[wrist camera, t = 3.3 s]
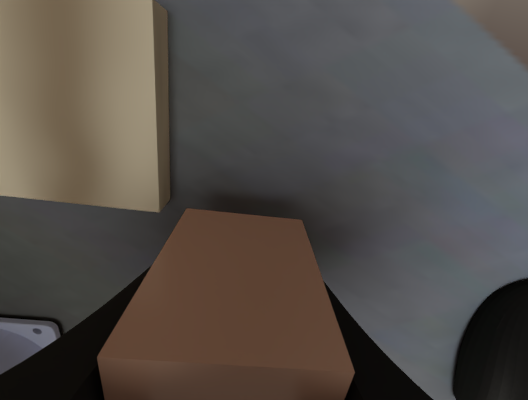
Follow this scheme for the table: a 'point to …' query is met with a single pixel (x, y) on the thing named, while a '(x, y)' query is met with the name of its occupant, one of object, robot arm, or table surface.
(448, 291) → the table surface
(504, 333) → the computer mouse
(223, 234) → the block
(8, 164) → the base slab
